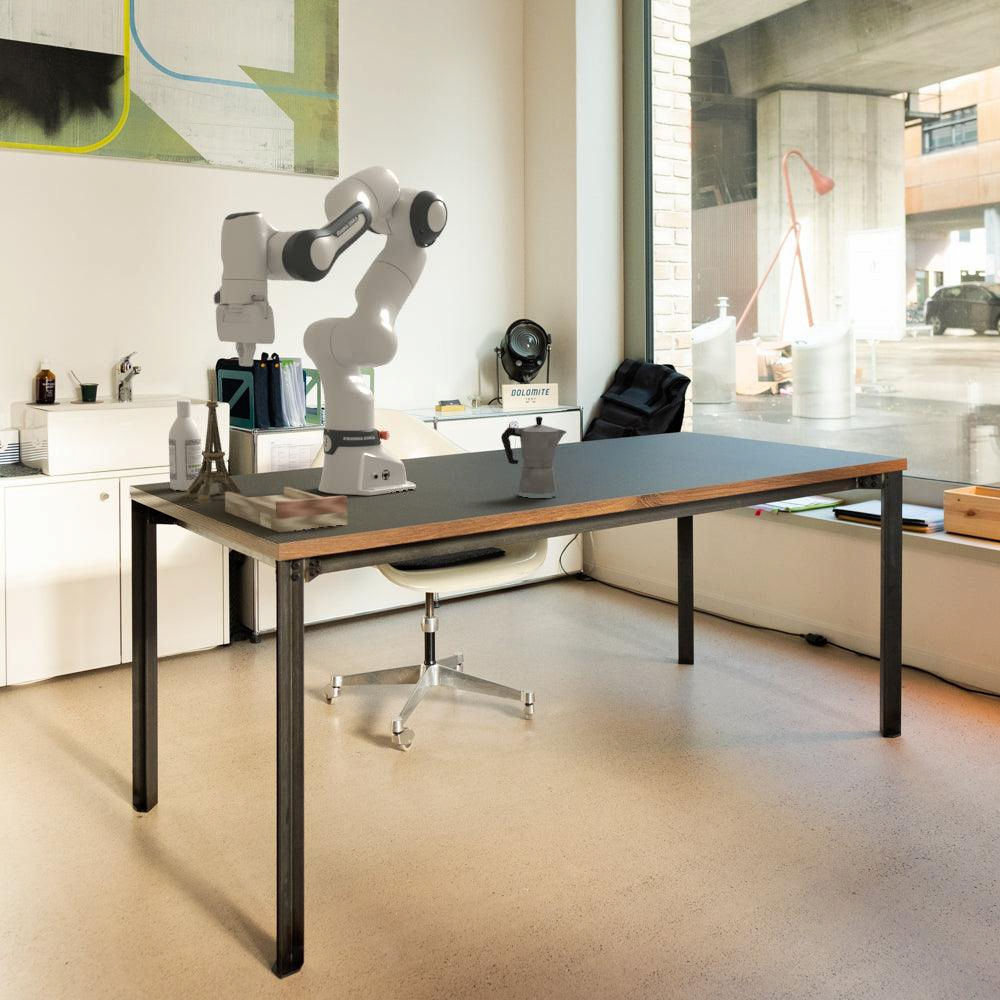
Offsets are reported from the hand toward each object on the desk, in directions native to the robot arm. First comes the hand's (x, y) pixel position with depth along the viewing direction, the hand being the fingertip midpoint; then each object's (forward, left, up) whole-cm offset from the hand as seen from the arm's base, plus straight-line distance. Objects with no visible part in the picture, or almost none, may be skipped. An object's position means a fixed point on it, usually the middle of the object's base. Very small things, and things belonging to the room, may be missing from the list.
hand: (246, 366), depth 217 cm
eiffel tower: (0, -18, -29) cm, 35 cm away
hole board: (-2, +13, -29) cm, 32 cm away
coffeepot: (-62, +15, -29) cm, 70 cm away
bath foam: (+1, -32, -29) cm, 43 cm away
